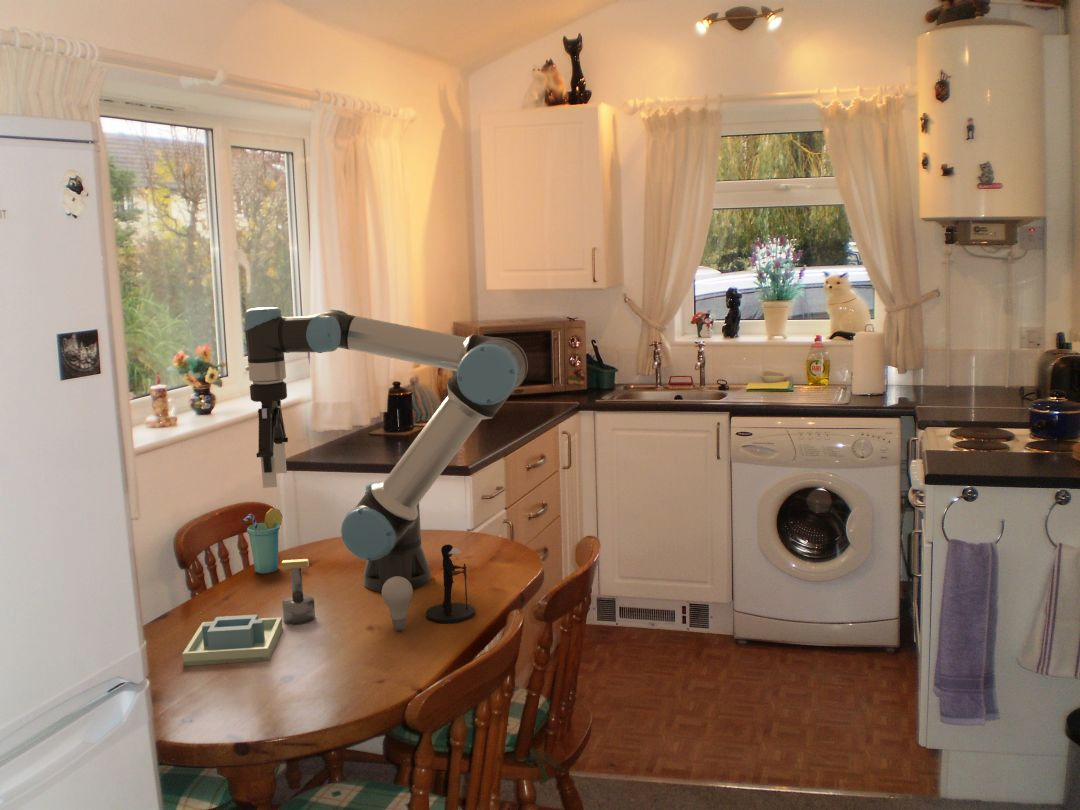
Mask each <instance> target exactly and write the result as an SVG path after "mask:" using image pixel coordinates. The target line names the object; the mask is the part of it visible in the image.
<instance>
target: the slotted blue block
mask: <svg viewBox="0 0 1080 810" xmlns="http://www.w3.org/2000/svg"><path fill="white" fill-rule="evenodd" d="M258 619H259V620H258ZM209 622H210V623H204V624H203V626H202V631H203V642H204V646H208V647H209V650H224V649H239V648H253V646H254V643H263V642H264V640H265V635H264V623H263V618H259V617H258V613H257V614H245V615H226V616H216V617H215V618H214V619H213V621H209Z"/></svg>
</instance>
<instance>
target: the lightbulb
mask: <svg viewBox="0 0 1080 810" xmlns="http://www.w3.org/2000/svg"><path fill="white" fill-rule="evenodd" d="M413 594H414V589H413V588H412V585H411V583H410V582H409V581H408V580H407V579H405V578H404V577H400V576H395V577H392V578H390V579H388V580H387V581H386V582H385V583H384V585H383V587H382V591H381V598H382V600H383V601H384V603H385V604H386V606H387V608H388V610H389V613H390V618H391V621H392V628H393V629H394V630H396V631H402V630H403V629H405V628H406V624H407V623H406V622H407V621H406V620H407V616H408V614H407V613H408V606H409V605H410V602H411V600H412V598H413Z"/></svg>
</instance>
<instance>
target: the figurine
mask: <svg viewBox="0 0 1080 810" xmlns="http://www.w3.org/2000/svg"><path fill="white" fill-rule="evenodd" d="M440 551H441V556H442V570H443V574H442V575H443V576H442V577H443V587H444V588H443V591H444V593H443V601H442V603H440V604H435V605H432V606H431V607H428V609H426V611H425V620H427V621H428V622H430V623H434V624H439V625H440V624H441V625H453V624H460V623H465V622H467V621H469V620H471V619H473V618H474V616H475V615H476V612H475V608H474V606H472V605H470V604H468V588H467V587H468V586H467V578H468V577H467V576H468V575H467V565H466V563H463V566H459V565H456V564H454V562H453V561H452V559H451V557H452V556H453V554H454V555H459V554H462V551H461V550H459V549H458V548H456V547H454V546H453V545H451V544H444V545H443V546H442V547H441V550H440ZM459 569H461V571H460V570H459ZM460 574H463V576H464V577H463V578H464V591H465V594H464V595H465V603H464V602H463V603H462V602H452V590H453V584H454V577H453V576H457V575H460Z"/></svg>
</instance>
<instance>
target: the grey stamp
mask: <svg viewBox="0 0 1080 810" xmlns="http://www.w3.org/2000/svg"><path fill="white" fill-rule="evenodd" d="M309 566H310V562H309V558H302V559H301V558H300V559H299V558H298V559H284V560H282V561H281V570H290V571H289V572H290V583H291V584H290V585H291V596H290V597H286V598H284V599H283V600H282V604H281V605H282V616H283V617H282V620H283V623H285V624H286V625H291V626H298V625H299V626H300V625H304V624H309V623H311V622H314V620H315V619H316V608H315V598H314V597H313V596H310V595H305V594H304V588H303V576H302V575H303V572H302V569H308V568H309Z"/></svg>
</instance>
